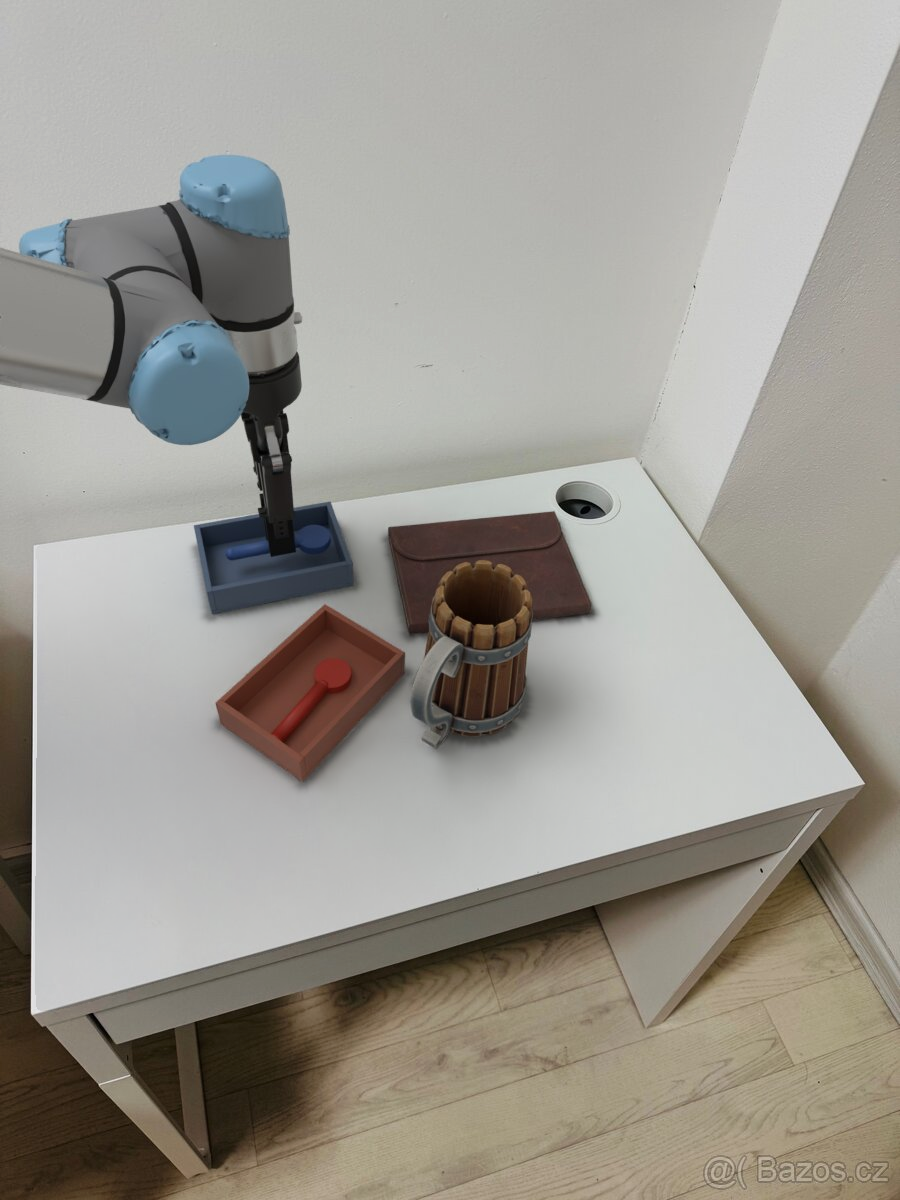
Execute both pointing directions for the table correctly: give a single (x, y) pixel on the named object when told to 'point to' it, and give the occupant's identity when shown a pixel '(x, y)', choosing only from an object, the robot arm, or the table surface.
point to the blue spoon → (307, 540)
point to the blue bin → (270, 561)
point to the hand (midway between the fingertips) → (280, 545)
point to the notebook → (505, 540)
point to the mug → (474, 653)
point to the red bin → (291, 676)
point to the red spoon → (316, 694)
